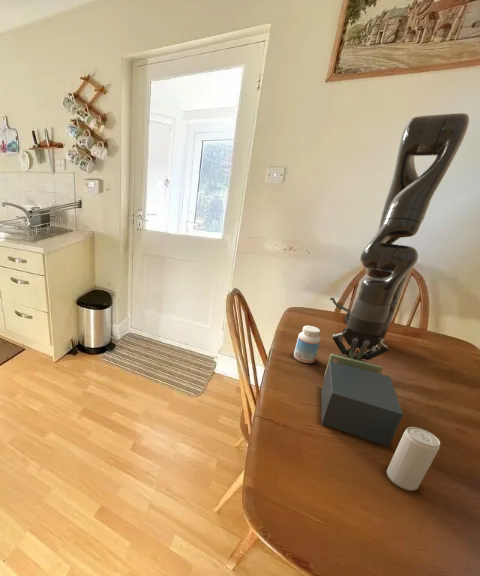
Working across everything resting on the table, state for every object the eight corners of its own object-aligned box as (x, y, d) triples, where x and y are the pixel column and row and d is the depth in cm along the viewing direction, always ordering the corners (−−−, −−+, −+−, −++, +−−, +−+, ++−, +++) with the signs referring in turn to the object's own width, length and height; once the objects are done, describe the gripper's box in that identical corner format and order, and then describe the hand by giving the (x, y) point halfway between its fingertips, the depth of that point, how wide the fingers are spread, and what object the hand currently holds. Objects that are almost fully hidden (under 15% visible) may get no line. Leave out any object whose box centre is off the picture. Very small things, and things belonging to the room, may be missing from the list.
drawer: (323, 366, 98) (330, 344, 95) (370, 378, 92) (378, 356, 89) (325, 404, 83) (332, 379, 80) (381, 422, 77) (391, 396, 74)
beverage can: (409, 474, 65) (431, 429, 60) (423, 495, 60) (448, 449, 56) (381, 467, 66) (400, 423, 62) (392, 488, 62) (414, 442, 58)
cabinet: (321, 389, 89) (330, 360, 86) (378, 406, 83) (390, 376, 79) (321, 424, 77) (332, 392, 74) (388, 447, 71) (403, 414, 67)
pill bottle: (318, 364, 100) (327, 334, 96) (297, 362, 101) (305, 332, 97) (310, 354, 106) (318, 325, 102) (290, 352, 107) (297, 323, 103)
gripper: (397, 315, 85) (377, 368, 92) (337, 305, 92) (323, 355, 98) (403, 326, 80) (381, 382, 86) (339, 314, 86) (323, 367, 93)
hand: (350, 367), depth 92 cm, fingers closed
